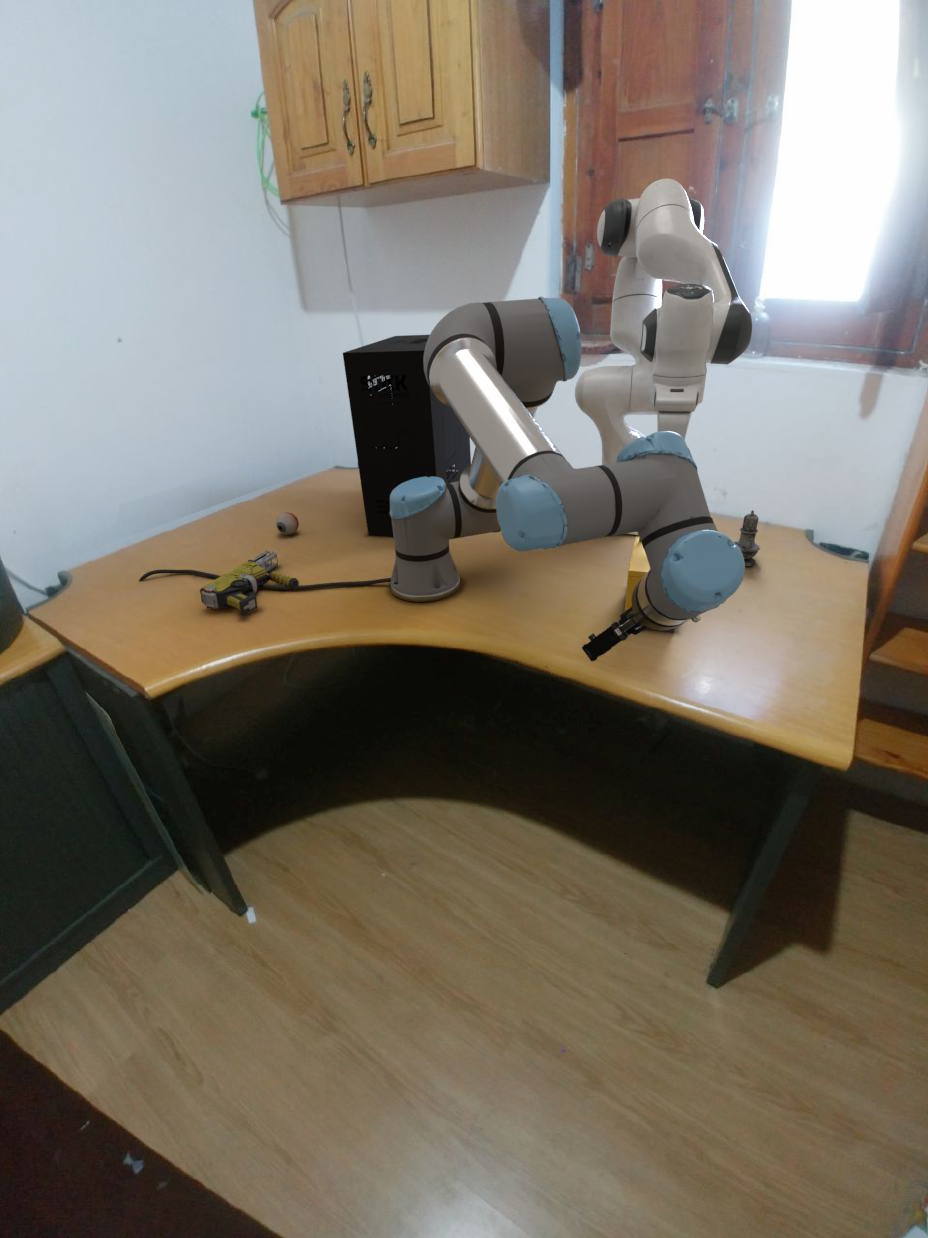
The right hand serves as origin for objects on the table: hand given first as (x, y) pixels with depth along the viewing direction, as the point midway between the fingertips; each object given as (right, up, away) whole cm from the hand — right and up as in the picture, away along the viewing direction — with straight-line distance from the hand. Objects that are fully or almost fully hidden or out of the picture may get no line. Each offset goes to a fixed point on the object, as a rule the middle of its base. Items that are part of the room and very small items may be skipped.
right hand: (667, 469), depth 112 cm
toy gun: (-83, -21, +24) cm, 89 cm away
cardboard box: (-49, +3, +64) cm, 80 cm away
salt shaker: (+25, -15, +25) cm, 38 cm away
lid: (-1, -16, +3) cm, 17 cm away
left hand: (-11, -28, -17) cm, 35 cm away
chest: (-1, -26, +8) cm, 27 cm away
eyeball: (-86, -5, +54) cm, 101 cm away
